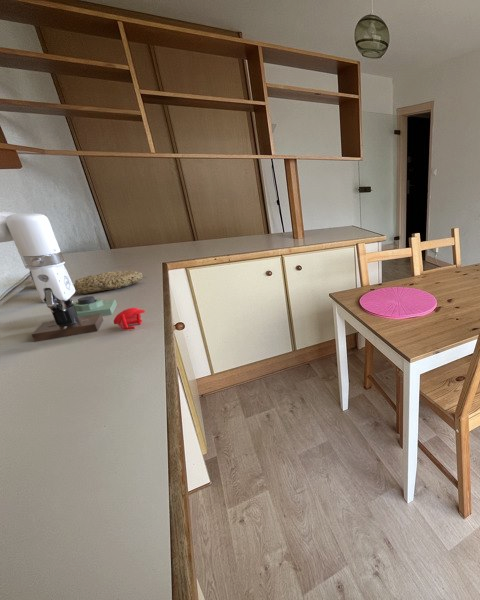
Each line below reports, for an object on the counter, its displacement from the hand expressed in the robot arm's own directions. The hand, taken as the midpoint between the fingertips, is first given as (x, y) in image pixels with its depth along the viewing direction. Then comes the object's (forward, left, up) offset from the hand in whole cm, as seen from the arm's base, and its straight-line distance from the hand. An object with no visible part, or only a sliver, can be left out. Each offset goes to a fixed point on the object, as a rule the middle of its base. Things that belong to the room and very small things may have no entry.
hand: (67, 319), depth 92 cm
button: (+2, +14, 0) cm, 14 cm away
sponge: (+4, +42, -4) cm, 42 cm away
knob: (0, 0, -1) cm, 1 cm away
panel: (0, 0, -4) cm, 4 cm away
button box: (+2, +14, -4) cm, 15 cm away
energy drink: (-12, +35, -4) cm, 37 cm away
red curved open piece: (+15, -6, -4) cm, 17 cm away
